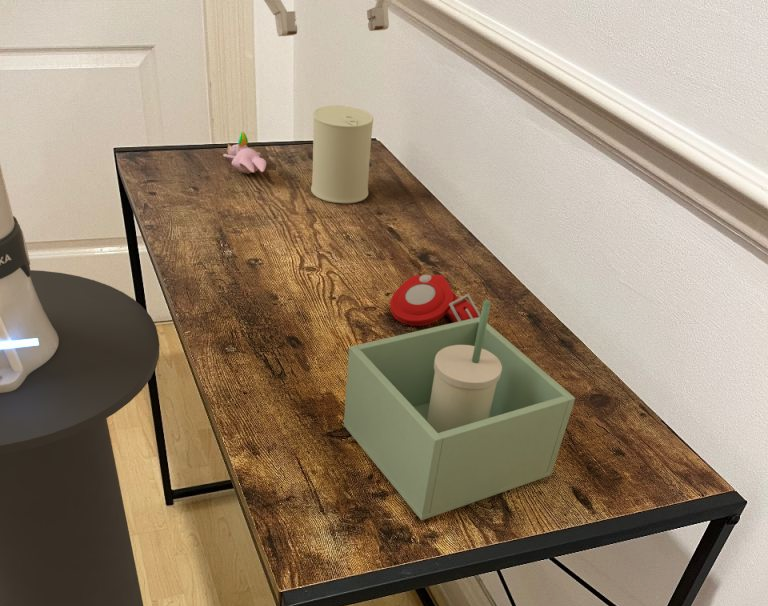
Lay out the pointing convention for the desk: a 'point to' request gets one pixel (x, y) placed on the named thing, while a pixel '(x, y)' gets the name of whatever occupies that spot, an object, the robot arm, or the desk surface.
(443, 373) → the paper cup
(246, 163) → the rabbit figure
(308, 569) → the desk surface
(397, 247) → the desk surface
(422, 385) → the bin
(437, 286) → the red flat rounded piece
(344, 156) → the can
